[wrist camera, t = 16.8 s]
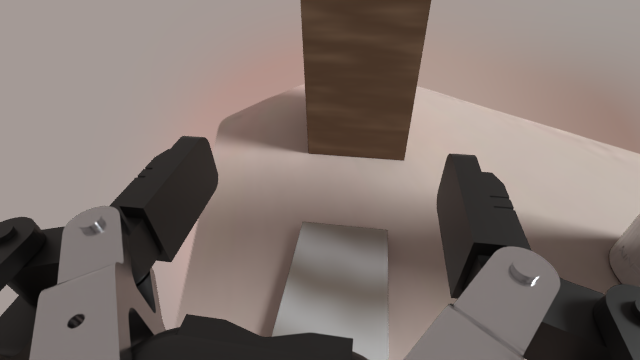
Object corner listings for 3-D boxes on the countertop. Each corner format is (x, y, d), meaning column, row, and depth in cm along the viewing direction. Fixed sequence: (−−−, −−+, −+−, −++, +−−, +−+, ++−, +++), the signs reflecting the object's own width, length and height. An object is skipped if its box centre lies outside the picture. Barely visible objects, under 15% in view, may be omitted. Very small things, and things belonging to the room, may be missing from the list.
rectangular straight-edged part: (303, 230, 32) (301, 211, 31) (386, 238, 31) (389, 219, 30) (212, 579, 15) (198, 577, 14) (387, 624, 14) (394, 627, 13)
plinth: (325, 101, 54) (322, -189, 34) (400, 105, 52) (443, -197, 32) (308, 153, 42) (287, -240, 22) (403, 160, 41) (474, -258, 21)
